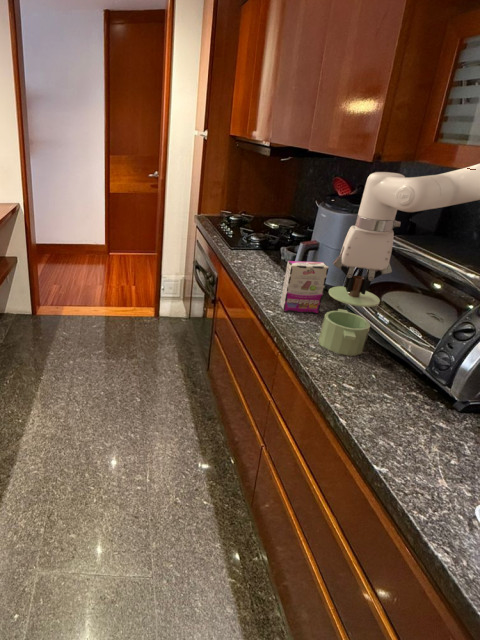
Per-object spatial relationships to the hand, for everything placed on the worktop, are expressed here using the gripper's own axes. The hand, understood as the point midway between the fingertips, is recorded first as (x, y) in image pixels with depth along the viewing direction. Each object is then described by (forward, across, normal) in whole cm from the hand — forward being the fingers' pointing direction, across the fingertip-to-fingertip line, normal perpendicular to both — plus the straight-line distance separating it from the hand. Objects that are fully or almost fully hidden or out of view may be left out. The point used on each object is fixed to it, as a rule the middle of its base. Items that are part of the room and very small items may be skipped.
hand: (355, 290), depth 102 cm
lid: (+2, 0, 0) cm, 2 cm away
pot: (+17, 0, 0) cm, 17 cm away
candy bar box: (+18, +10, -20) cm, 28 cm away
